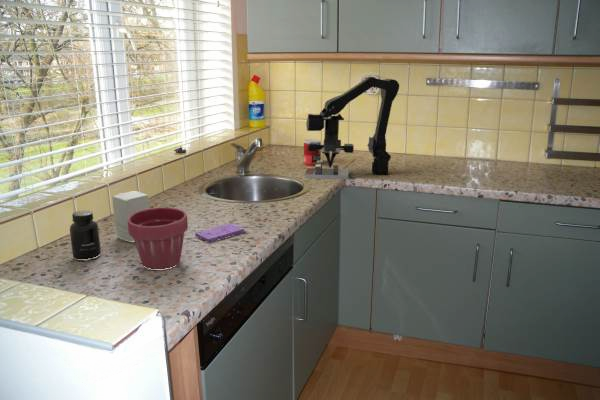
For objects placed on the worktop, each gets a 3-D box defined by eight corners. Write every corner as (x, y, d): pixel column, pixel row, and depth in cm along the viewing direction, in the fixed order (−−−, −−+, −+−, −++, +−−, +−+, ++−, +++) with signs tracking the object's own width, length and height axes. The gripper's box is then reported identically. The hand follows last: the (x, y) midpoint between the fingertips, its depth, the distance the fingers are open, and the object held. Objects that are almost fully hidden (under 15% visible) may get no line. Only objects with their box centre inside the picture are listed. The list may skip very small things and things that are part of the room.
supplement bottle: (88, 263, 128) (82, 218, 125) (67, 259, 131) (60, 215, 127) (107, 253, 134) (102, 210, 131) (87, 250, 137) (81, 207, 133)
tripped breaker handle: (338, 170, 215) (338, 162, 214) (338, 172, 213) (338, 163, 211) (333, 170, 215) (333, 162, 214) (333, 171, 213) (333, 163, 212)
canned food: (314, 166, 230) (314, 142, 226) (300, 164, 234) (300, 140, 231) (323, 163, 235) (324, 140, 232) (310, 161, 240) (310, 138, 237)
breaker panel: (348, 172, 219) (349, 160, 217) (347, 179, 208) (348, 166, 207) (307, 171, 221) (307, 159, 220) (304, 177, 211) (304, 165, 209)
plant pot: (176, 278, 120) (172, 227, 116) (121, 273, 122) (115, 223, 119) (198, 254, 134) (195, 208, 130) (148, 251, 136) (144, 205, 132)
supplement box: (153, 236, 146) (149, 194, 143) (129, 243, 141) (125, 200, 137) (139, 230, 151) (135, 189, 147) (116, 237, 146) (111, 195, 142)
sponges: (195, 238, 146) (194, 232, 146) (231, 227, 154) (230, 222, 154) (208, 245, 141) (208, 238, 141) (244, 234, 149) (244, 228, 149)
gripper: (306, 133, 203) (306, 171, 207) (353, 134, 200) (351, 173, 205) (309, 128, 213) (309, 164, 218) (354, 130, 211) (352, 167, 216)
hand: (330, 167), depth 214 cm, fingers closed
